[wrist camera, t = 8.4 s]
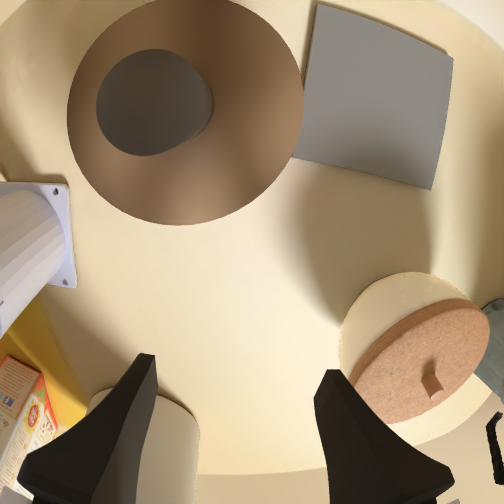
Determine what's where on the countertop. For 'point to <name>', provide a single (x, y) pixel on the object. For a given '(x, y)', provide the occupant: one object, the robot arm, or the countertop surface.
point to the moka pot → (494, 377)
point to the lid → (185, 110)
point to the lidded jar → (410, 344)
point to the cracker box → (22, 419)
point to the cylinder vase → (166, 454)
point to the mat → (373, 99)
